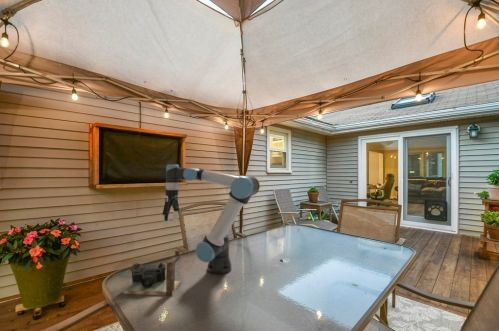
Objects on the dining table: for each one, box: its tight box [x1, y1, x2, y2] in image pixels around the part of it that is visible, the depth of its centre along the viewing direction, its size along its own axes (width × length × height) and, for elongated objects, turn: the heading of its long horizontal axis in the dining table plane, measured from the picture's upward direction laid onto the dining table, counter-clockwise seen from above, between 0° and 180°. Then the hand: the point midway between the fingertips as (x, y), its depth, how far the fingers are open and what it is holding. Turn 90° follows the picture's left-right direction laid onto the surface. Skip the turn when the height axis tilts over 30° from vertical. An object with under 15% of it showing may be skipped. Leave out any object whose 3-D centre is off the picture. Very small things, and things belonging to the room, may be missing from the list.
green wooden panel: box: [123, 249, 182, 297], centre depth 118 cm, size 25×12×18 cm, turn 87°
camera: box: [130, 262, 167, 288], centre depth 119 cm, size 18×9×10 cm, turn 100°
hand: (171, 223), depth 141 cm, fingers open, 13 cm apart
